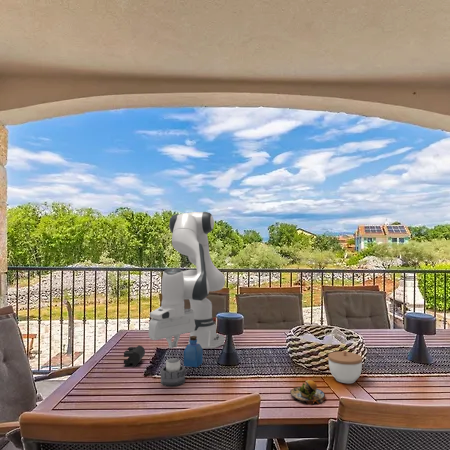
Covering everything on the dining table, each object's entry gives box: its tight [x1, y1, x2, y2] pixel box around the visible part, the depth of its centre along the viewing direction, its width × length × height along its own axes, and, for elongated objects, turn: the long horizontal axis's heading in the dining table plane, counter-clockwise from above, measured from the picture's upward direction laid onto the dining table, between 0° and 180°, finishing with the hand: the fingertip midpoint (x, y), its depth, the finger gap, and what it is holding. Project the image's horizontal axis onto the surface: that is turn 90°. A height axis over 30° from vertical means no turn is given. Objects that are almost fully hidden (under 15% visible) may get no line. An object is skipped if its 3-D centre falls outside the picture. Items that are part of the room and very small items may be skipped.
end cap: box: [123, 345, 146, 368], centre depth 165 cm, size 10×7×7 cm
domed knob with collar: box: [160, 364, 186, 388], centre depth 142 cm, size 9×9×5 cm
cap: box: [165, 357, 181, 372], centre depth 143 cm, size 5×5×5 cm
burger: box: [289, 376, 326, 406], centre depth 128 cm, size 12×12×8 cm
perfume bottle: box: [183, 335, 204, 368], centre depth 163 cm, size 6×6×12 cm
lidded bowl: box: [327, 350, 363, 384], centre depth 144 cm, size 13×13×11 cm
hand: (172, 347), depth 143 cm, fingers closed
